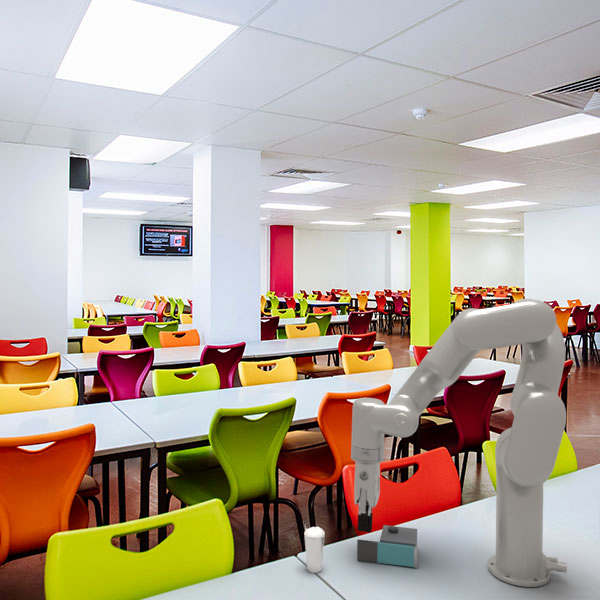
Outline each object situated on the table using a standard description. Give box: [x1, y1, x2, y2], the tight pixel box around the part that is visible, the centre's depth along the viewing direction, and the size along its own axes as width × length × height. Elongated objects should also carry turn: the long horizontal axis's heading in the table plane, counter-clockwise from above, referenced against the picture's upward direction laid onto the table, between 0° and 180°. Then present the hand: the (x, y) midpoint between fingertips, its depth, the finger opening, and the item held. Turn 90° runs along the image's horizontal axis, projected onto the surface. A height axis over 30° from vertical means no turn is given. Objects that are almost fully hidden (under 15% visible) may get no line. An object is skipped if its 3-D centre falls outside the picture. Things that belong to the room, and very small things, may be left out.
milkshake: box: [302, 520, 326, 574], centre depth 122 cm, size 5×5×10 cm
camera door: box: [356, 538, 419, 569], centre depth 124 cm, size 14×1×4 cm, turn 75°
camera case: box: [379, 524, 418, 547], centre depth 128 cm, size 8×8×6 cm
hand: (364, 530), depth 128 cm, fingers closed
